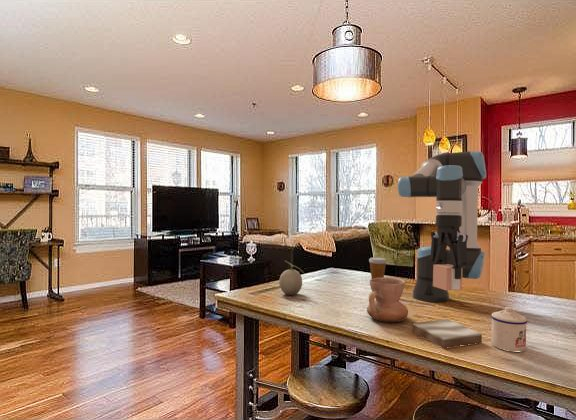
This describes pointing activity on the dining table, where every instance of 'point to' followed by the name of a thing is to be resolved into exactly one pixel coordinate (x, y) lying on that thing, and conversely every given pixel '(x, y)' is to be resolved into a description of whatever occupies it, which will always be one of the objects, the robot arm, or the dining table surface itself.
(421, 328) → the plinth
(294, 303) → the dining table surface
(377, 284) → the ceramic jug
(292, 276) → the fruit
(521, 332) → the teacup with lid
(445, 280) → the block
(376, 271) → the disposable coffee cup
